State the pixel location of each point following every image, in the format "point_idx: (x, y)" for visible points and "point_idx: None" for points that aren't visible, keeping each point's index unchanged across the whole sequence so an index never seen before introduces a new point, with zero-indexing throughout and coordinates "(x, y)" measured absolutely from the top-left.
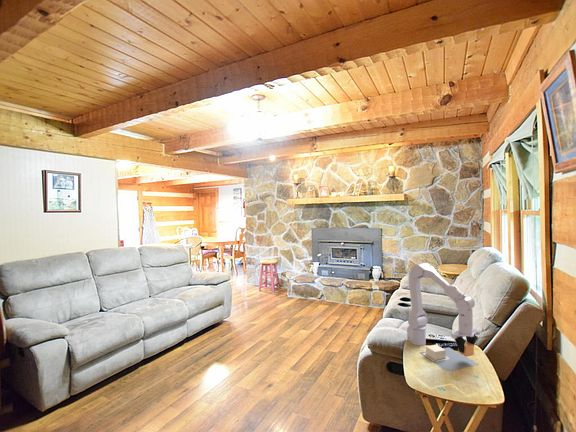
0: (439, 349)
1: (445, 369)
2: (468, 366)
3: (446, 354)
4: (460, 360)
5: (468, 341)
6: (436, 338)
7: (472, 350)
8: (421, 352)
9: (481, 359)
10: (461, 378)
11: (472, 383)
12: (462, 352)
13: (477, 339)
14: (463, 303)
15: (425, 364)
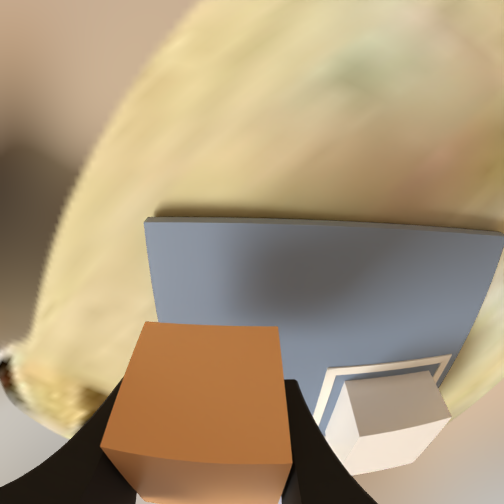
0: (390, 441)
1: (493, 259)
2: (291, 229)
3: None
4: None
5: (126, 491)
6: None
7: (148, 373)
8: None
9: (58, 293)
10: (484, 126)
11: (468, 37)
12: (298, 384)
13: (3, 487)
14: None
15: (485, 345)
